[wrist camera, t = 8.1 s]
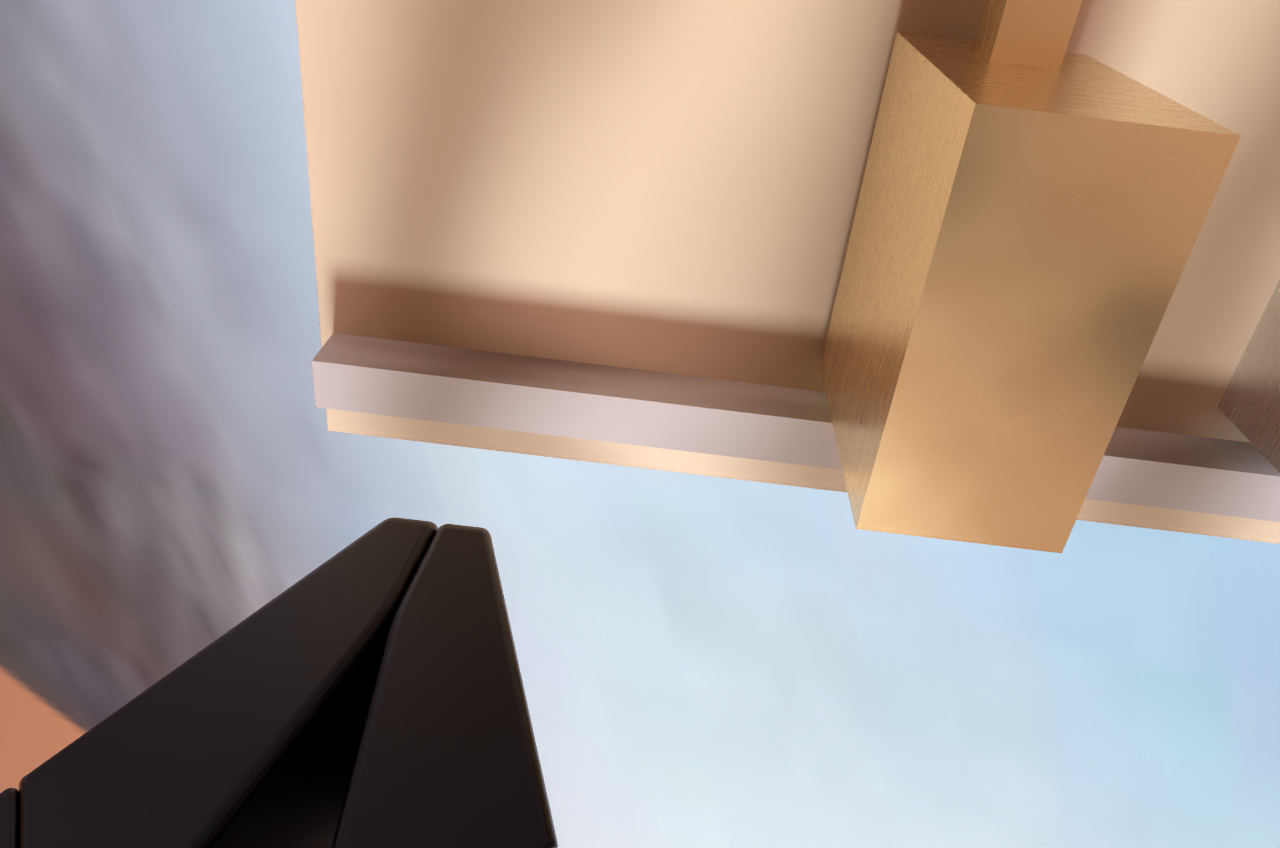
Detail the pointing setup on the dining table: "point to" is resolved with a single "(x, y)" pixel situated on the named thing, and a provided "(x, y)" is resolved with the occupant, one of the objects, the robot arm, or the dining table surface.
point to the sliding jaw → (1006, 276)
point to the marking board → (715, 231)
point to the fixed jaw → (1259, 386)
